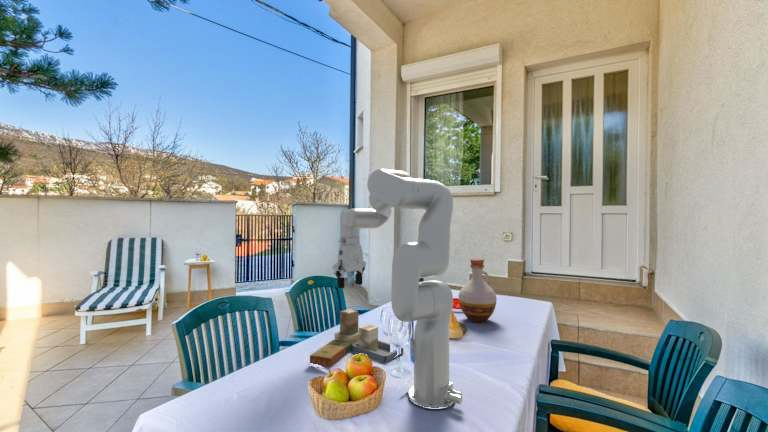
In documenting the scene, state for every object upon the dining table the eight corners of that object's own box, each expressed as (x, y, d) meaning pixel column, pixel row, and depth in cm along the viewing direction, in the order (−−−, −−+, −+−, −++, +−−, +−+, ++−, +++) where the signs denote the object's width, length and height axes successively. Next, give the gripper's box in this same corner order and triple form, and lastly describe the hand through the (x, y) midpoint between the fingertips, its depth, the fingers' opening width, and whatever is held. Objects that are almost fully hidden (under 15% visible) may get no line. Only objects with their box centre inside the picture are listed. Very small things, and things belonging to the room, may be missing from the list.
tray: (403, 356, 117) (403, 347, 117) (385, 365, 109) (385, 356, 109) (369, 345, 127) (369, 337, 127) (351, 353, 119) (351, 345, 119)
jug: (474, 312, 173) (474, 255, 174) (505, 320, 160) (505, 258, 160) (450, 319, 161) (450, 258, 161) (482, 328, 147) (482, 261, 148)
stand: (364, 345, 127) (364, 331, 127) (349, 351, 121) (349, 337, 121) (349, 340, 132) (349, 327, 132) (334, 346, 126) (334, 332, 126)
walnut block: (358, 331, 127) (358, 310, 128) (348, 335, 124) (348, 313, 124) (349, 329, 131) (349, 308, 131) (339, 332, 127) (340, 311, 127)
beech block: (377, 348, 121) (378, 327, 121) (368, 353, 117) (368, 330, 117) (367, 345, 124) (367, 324, 124) (358, 349, 120) (358, 327, 120)
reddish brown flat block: (309, 367, 108) (309, 354, 108) (333, 350, 123) (332, 338, 124) (331, 371, 106) (331, 358, 106) (353, 352, 121) (353, 341, 121)
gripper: (340, 242, 118) (340, 290, 118) (371, 241, 132) (372, 283, 131) (326, 242, 123) (326, 288, 123) (358, 240, 137) (358, 282, 136)
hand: (350, 286), depth 127 cm, fingers open, 9 cm apart
